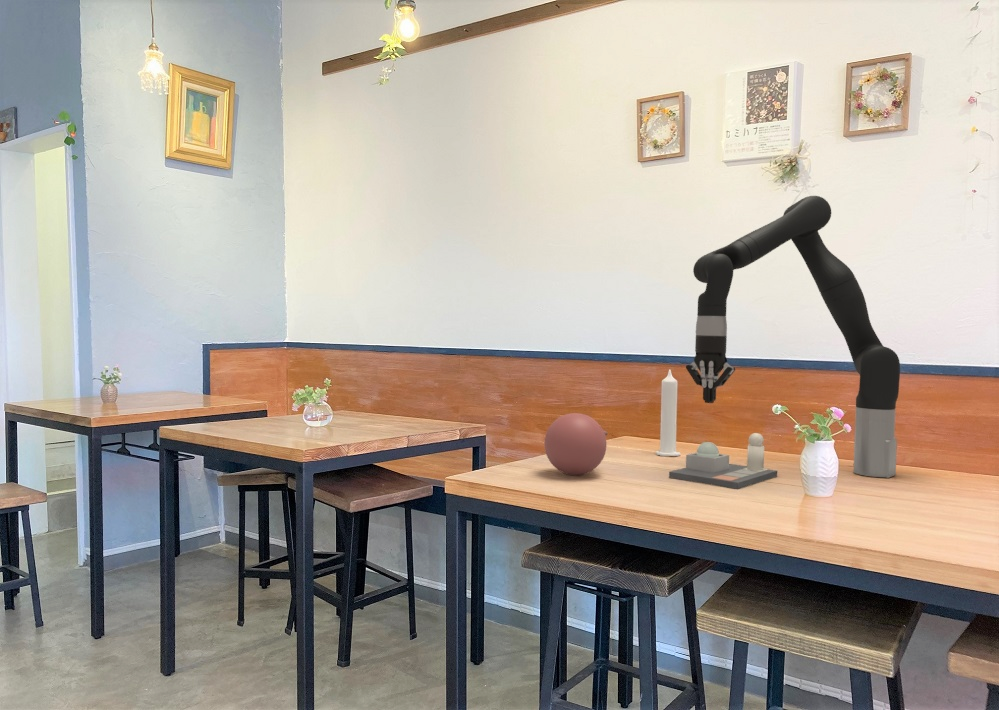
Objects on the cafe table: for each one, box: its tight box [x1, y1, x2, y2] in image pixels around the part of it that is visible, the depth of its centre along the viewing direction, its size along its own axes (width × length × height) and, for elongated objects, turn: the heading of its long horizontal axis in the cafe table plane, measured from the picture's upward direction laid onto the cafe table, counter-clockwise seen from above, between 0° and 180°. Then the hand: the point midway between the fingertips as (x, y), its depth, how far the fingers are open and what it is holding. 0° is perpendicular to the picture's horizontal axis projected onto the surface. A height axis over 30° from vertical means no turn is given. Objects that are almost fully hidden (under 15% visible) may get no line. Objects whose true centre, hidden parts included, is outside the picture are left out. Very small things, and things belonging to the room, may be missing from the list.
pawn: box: [746, 432, 765, 471], centre depth 192 cm, size 4×4×9 cm
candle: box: [655, 369, 681, 457], centre depth 221 cm, size 7×7×25 cm
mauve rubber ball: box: [543, 412, 609, 476], centre depth 190 cm, size 15×20×15 cm
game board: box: [668, 451, 778, 490], centre depth 189 cm, size 18×22×5 cm
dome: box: [696, 441, 720, 458], centre depth 192 cm, size 5×5×5 cm
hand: (709, 402), depth 192 cm, fingers closed
